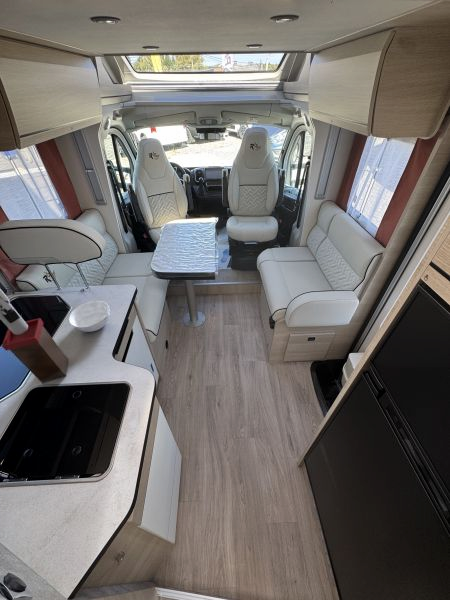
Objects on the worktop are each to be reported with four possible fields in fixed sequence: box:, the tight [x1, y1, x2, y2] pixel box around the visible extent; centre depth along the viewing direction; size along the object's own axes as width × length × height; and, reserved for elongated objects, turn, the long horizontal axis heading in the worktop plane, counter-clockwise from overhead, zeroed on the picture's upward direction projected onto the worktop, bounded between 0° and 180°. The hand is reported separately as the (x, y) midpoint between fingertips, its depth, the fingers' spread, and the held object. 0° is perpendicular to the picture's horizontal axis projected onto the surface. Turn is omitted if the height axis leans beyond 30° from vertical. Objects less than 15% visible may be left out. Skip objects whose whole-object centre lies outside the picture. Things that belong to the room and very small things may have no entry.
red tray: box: [1, 317, 44, 352], centre depth 91 cm, size 10×10×2 cm
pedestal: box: [9, 326, 69, 384], centre depth 100 cm, size 9×9×23 cm
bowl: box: [68, 300, 111, 333], centre depth 125 cm, size 18×18×7 cm
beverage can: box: [0, 302, 28, 335], centre depth 86 cm, size 5×5×12 cm
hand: (10, 317), depth 85 cm, fingers closed on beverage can, 4 cm apart
